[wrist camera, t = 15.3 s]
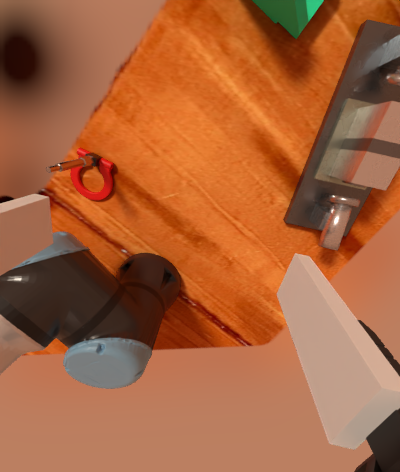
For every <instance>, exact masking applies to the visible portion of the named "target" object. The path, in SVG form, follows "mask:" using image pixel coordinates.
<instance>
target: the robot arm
mask: <svg viewBox="0 0 400 472" xmlns="http://www.w3.org/2000/svg"><path fill="white" fill-rule="evenodd" d="M89 250H90V249H89V248H88V247H85V246H84V245H83V244H82V243H81V242H80V241H79V240H78V239H77V238H76V237H75V236H73V235H72V234H70V233H68V232H55V233H52V223H51V213H50V203H49V197H46V196H42V195H38V194H32V195H29V196H26V197H22V198H18V199H15V200H11V201H8V202H4V203H1V204H0V374H1V373H3V371H5V370H6V369H7V368H8V367H9V366H10V365H11V364H12V363H13V362H14V361H15V360H16V359H17V358H19V357H20V356H21V355H23V354H25V353H27V352H33V351H39V350H44V349H45V348H46V347H47V346H48V345H49V344H50V343H51V342H52V341H53V340H54V339H55V338H57V339H58V340H60V341H61V342H62V343H63V344H65V345H66V346H67V347H68V348H69V349H68V350H67V352H66V353H65V357H64V361H63V364H64V366H65V369H66V371H67V373H68V374H69V375H70V376H71V377H73V378H74V379H76V380H77V381H80V382H82V383H84V384H86V385H89V386H93V387H98V388H106V389H114V388H121V387H125V386H128V385H131V384H132V383H134V382H136V381H137V380H138V379H139V378H140V377H141V375H142V374H143V372H144V370H145V368H146V365H147V363H148V361H149V359H150V357H151V355H152V350H153V346H154V343H155V340H156V337H157V334H158V331H159V328H160V325H161V321H162V318H163V315H164V313H165V312H166V311H167V310H168V308H169V307H170V306H171V305H172V304H173V303H174V302H175V300H176V299H177V297H178V294H179V291H180V287H181V280H180V276H179V273H178V271H177V270H176V268H175V267H174V266H173V265H172V264H171V263H170V262H169V261H168V260H166V259H165V258H163V257H161V256H158V255H155V254H150V253H140V254H136V255H133V256H131V257H129V258H128V259H127V260H126V261H125V262H124V263H123V264H122V265H121V267H120V268H119V270H118V272H117V275H116V278H115V277H114V276H113V275H112V274H111V273H110V272H109V271H108V270H107V269H106V267H105V266H104V265H103V264H102V263H101V262H100V261H99V260H98V259H97V258H96V257H95V256H94V255H93V254H92V253H91V252H90V251H89ZM277 297H278V300H279V302H280V305H281V308H282V311H283V314H284V317H285V320H286V322H287V325H288V328H289V331H290V334H291V337H292V339H293V342H294V345H295V348H296V351H297V353H298V356H299V359H300V362H301V365H302V368H303V371H304V374H305V376H306V379H307V382H308V385H309V388H310V391H311V393H312V396H313V399H314V402H315V405H316V408H317V411H318V413H319V416H320V419H321V422H322V425H323V428H324V430H325V433H326V436H327V439H328V442H329V444H333V445H337V446H342V447H346V448H350V449H356V448H357V447H358V446H359V445H360V444H361V443H362V442H364V440H366V439H367V441H368V443H369V445H370V448H371V450H372V452H373V454H372V455H371V456H370V457H369V458H368V459H366V460H365V461H364V462H363V463H362V464H361V465H359V466H358V467H357V468H356V470H355V472H400V364H399V363H398V362H397V361H396V360H394V359H393V356H392V354H391V353H390V352H389V350H388V349H387V348H385V347H384V346H385V345H384V344H383V343H382V342H381V340H380V339H379V338H378V337H377V335H376V334H375V333H374V332H373V331H372V330H371V329H370V328H369V327H367V326H366V325H365V324H364V323H363V322H362V321H361V320H357V319H356V318H355V316H354V315H353V314H352V312H351V311H350V310H349V308H348V307H347V306H346V304H345V303H344V302H343V300H342V299H341V298H340V296H339V295H338V294H337V292H336V291H335V290H334V288H333V287H332V286H331V284H330V283H329V282H328V280H327V279H326V278H325V276H324V275H323V274H322V272H321V271H320V270H319V268H318V267H317V266H316V264H315V263H314V262H313V260H312V259H311V258H310V256H305V255H301V254H297V253H295V255H294V257H293V259H292V261H291V264H290V266H289V268H288V270H287V272H286V275H285V277H284V279H283V281H282V283H281V286H280V288H279V290H278V292H277Z"/></svg>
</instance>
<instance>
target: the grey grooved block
mask: <svg viewBox="0 0 400 472" xmlns="http://www.w3.org/2000/svg"><path fill="white" fill-rule="evenodd" d="M399 167H400V102H395V101H389V102H385V103H380V104H376V105H372V106H367V107H363V108H359V109H358V111H357V113H356V115H355V118H354V120H353V122H352V124H351V126H350V129H349V131H348V133H347V135H346V138H345V139H344V141H343V143H342V145H341V148H340V151H339V153H338V155H337V158H336V160H335V162H334V164H333V166H332V169H331V171H330V173H329V176H332V177H336V178H339V179H342V182H343V183H347V184H350V185H354V186H358V187H363V188H365V186H368V187H372V188H377V189H381V190H386V189H387V187H388V186H389V184H390V182H391V181H392V179H393V177H394V175H395V174H396V172H397V170H398V169H399Z"/></svg>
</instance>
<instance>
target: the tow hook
mask: <svg viewBox="0 0 400 472" xmlns="http://www.w3.org/2000/svg"><path fill="white" fill-rule="evenodd" d="M77 154H78V155H79V158H78V159H76V160H71V161H67V162H62V163H57V164H56V165H55V166H50V167H46V171H47V172H49V173H50V172H54V171H60V172H61V171H64V170H68V169H71V180H72V182H73V185H74V186H75V188H76V189H77V191H78V192H79V193H80V194H81V195H83V196H84V197H86V198H88V199H91V200H102V199H104V198H106V197H107V196H108V195H109V194H110V193H111V191H112V188H113V179H112V175H111V170H112V169H113V166H114V163H112V162H110V161H108V160H106V159H104V158H102V157H100V156H98V155H96V154H94V153H91V152H89V151H86V150H84V149H82V148H79V149H78V151H77ZM90 165H92V166H94V167H95V166H99V165H100V167H99V171H100V172H101V174H102V176H103V178H104V187H103V189H102V190H101V191H100V192H91V191H89V190H88V189H86V188H85V187H84V186H83V184H82V182H81V180H80V171H81V169H82V168H83V167H86V166H90Z"/></svg>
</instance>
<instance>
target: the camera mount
mask: <svg viewBox="0 0 400 472" xmlns="http://www.w3.org/2000/svg"><path fill="white" fill-rule="evenodd" d="M252 1H253V2H254V3H255V4H256V5H257V6H258V7H259V8H260V9H261V10H262V11H263V12H264V13H265V14H266V15H267V16H268V17H269V18H270V19H271V20H272V21H273V22H274V23H275V24H276V23H277V22H279V23H280V24H281V25H282V26H283V27H284V28H285V29H286V30H287V31H288V32H289V33H290V34H291V35H292V36H293V37H294V38H295V39H297V38H298V36H299V35H300V33H301V32H302V31H303V29H304V28H305V26H306V25H307V23H308V22H309V21H310V19H311V18H312V16H313V15H314V14H315V12H316V11H317V9H318V8H319V7H320V5H321V4H322V2H323V1H324V0H252Z"/></svg>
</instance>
